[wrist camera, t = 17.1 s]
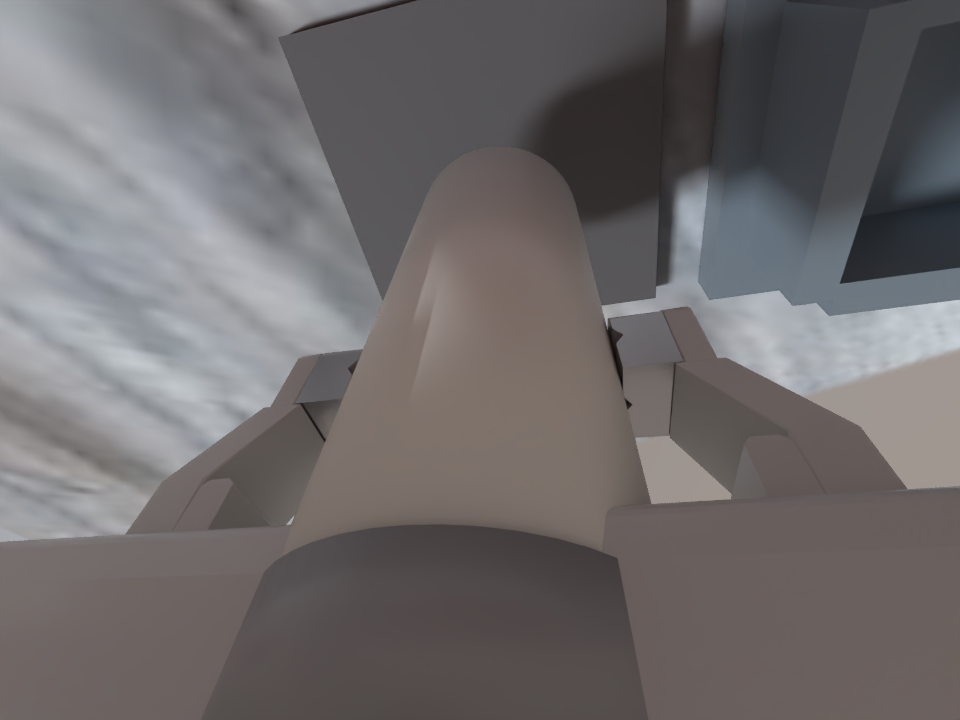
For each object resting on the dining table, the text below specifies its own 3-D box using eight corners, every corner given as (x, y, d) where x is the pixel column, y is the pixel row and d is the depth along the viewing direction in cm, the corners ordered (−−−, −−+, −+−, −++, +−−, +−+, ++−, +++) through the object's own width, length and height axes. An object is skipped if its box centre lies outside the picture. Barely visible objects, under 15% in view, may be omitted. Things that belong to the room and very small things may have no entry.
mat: (399, 324, 23) (395, 334, 22) (287, 35, 15) (278, 37, 15) (651, 288, 21) (655, 297, 20) (662, -65, 13) (669, -68, 13)
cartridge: (441, 306, 17) (321, 832, 7) (397, 161, 14) (24, 746, 3) (585, 285, 16) (711, 861, 6) (574, 125, 13) (818, 778, 2)
